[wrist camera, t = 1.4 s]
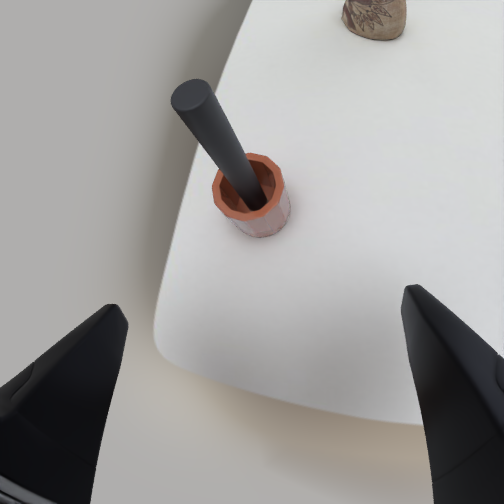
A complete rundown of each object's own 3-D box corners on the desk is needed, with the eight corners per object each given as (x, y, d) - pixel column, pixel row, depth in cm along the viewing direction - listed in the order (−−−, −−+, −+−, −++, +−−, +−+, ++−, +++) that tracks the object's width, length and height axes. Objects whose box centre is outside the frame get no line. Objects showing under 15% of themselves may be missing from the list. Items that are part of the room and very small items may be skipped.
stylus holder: (296, 229, 22) (290, 210, 17) (238, 243, 23) (218, 228, 18) (282, 176, 23) (274, 145, 18) (228, 190, 24) (207, 164, 19)
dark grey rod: (271, 213, 22) (212, 102, 9) (252, 218, 22) (170, 116, 9) (267, 194, 22) (207, 72, 9) (248, 199, 23) (169, 86, 9)
